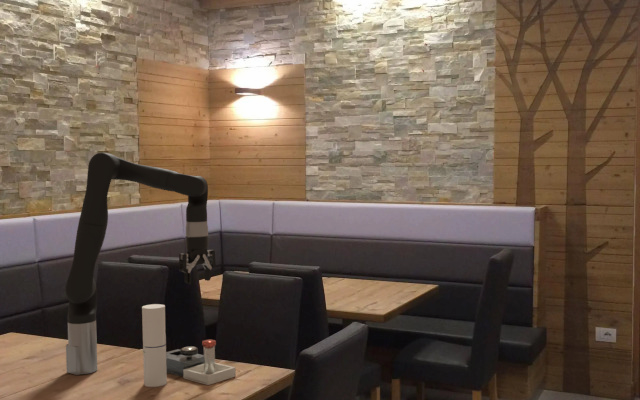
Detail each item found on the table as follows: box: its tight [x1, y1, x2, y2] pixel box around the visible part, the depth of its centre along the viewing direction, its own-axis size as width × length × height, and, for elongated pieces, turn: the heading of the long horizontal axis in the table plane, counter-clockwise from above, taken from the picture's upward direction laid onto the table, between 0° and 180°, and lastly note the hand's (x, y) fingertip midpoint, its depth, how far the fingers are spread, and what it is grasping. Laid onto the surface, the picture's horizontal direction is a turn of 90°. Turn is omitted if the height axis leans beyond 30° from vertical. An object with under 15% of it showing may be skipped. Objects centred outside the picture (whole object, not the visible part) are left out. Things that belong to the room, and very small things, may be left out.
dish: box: [183, 362, 237, 386], centre depth 242 cm, size 12×12×3 cm
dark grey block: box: [166, 346, 204, 378], centre depth 251 cm, size 10×15×8 cm, turn 50°
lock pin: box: [201, 339, 217, 375], centre depth 242 cm, size 4×4×11 cm
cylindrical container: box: [141, 303, 168, 388], centre depth 235 cm, size 7×7×25 cm
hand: (197, 282), depth 251 cm, fingers open, 8 cm apart
